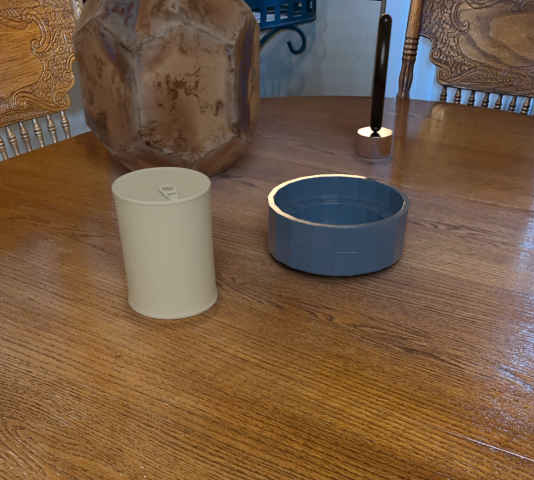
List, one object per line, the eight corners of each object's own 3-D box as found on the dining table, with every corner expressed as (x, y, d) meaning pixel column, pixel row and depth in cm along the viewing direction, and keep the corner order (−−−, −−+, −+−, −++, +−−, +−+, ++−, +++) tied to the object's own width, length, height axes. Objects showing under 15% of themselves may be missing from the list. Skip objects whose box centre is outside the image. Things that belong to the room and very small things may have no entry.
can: (142, 328, 67) (125, 203, 59) (117, 287, 74) (98, 169, 66) (231, 308, 70) (226, 187, 62) (200, 270, 77) (191, 156, 68)
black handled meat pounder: (387, 147, 108) (401, 10, 96) (393, 158, 104) (409, 17, 92) (353, 148, 107) (364, 10, 96) (358, 159, 104) (370, 17, 92)
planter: (274, 148, 108) (274, -44, 92) (229, 206, 90) (220, -17, 74) (139, 137, 112) (118, -48, 96) (71, 191, 94) (31, -24, 78)
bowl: (389, 223, 86) (395, 172, 82) (415, 280, 75) (423, 225, 71) (264, 226, 86) (264, 175, 81) (271, 284, 74) (271, 229, 70)
